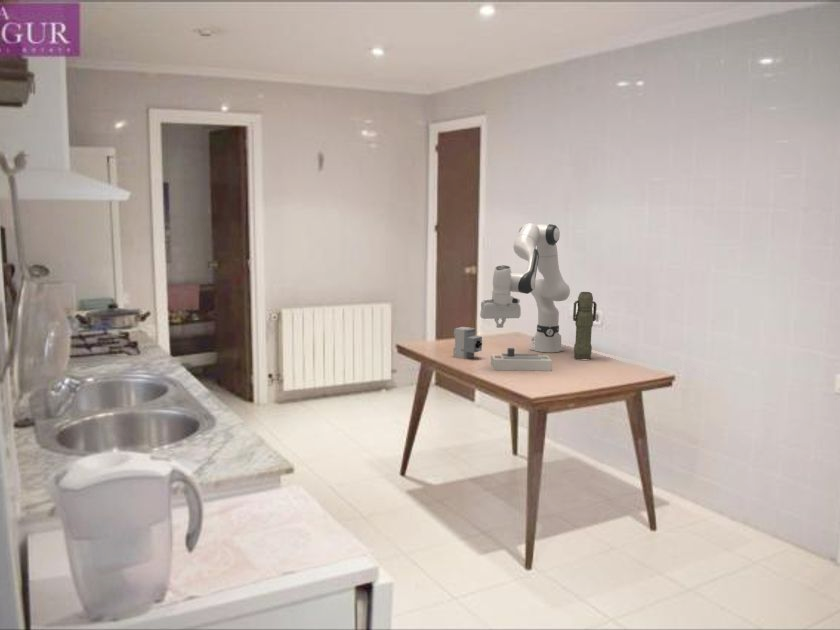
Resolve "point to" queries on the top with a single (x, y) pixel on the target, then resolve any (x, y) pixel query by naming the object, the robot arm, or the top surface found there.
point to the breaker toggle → (510, 352)
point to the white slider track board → (521, 362)
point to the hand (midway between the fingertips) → (499, 327)
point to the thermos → (584, 325)
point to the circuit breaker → (466, 342)
